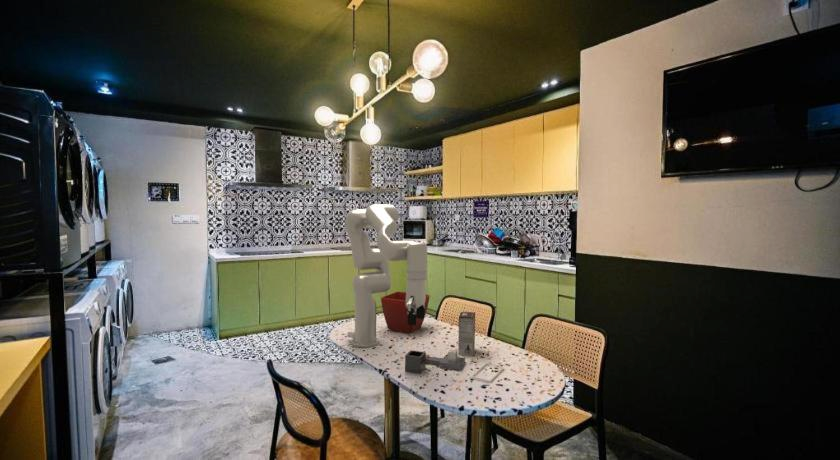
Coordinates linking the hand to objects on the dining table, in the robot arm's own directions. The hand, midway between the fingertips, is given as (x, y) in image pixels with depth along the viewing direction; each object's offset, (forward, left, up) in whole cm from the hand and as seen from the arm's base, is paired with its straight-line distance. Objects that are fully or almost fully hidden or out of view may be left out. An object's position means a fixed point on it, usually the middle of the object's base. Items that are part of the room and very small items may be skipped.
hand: (416, 321), depth 145 cm
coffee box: (+14, +26, -18) cm, 35 cm away
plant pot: (-22, +48, -18) cm, 56 cm away
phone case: (+26, +6, -19) cm, 33 cm away
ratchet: (+4, +9, -18) cm, 21 cm away
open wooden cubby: (0, 0, -18) cm, 18 cm away
